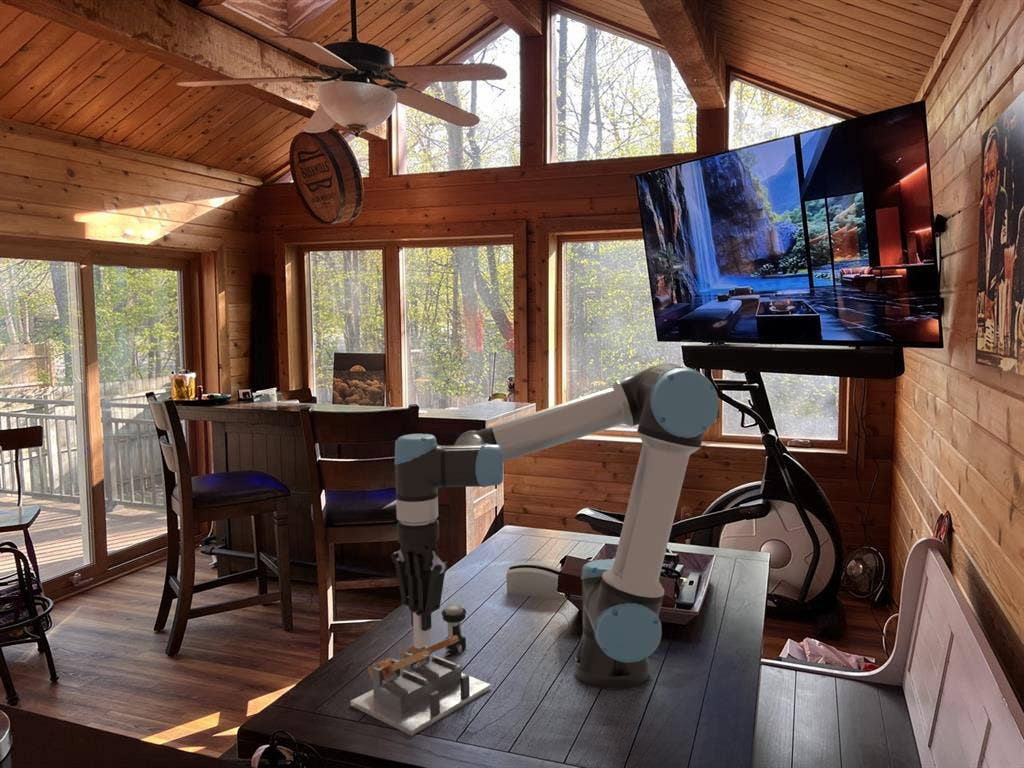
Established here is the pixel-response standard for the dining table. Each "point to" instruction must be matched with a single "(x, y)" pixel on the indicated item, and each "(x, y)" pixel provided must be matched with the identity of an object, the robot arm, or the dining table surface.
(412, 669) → the heatsink base
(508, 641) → the dining table surface
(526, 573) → the pale grey rounded block
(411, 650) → the strap right
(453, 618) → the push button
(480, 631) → the dining table surface
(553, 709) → the dining table surface
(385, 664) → the strap left
